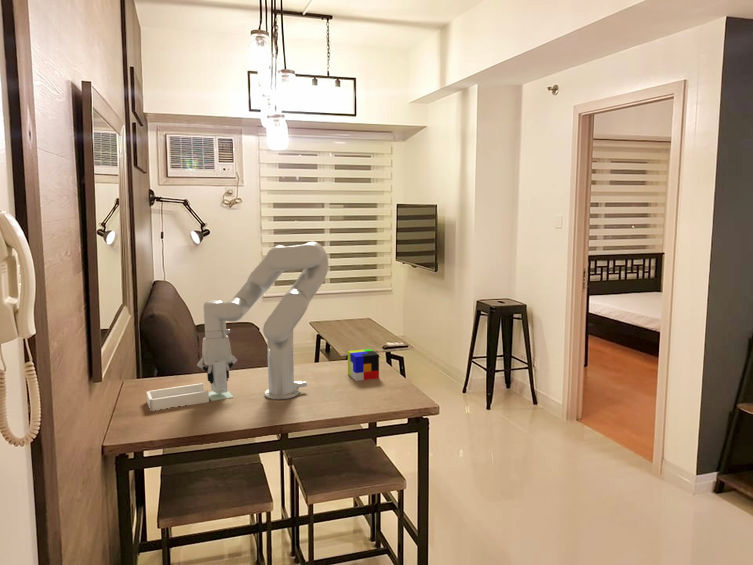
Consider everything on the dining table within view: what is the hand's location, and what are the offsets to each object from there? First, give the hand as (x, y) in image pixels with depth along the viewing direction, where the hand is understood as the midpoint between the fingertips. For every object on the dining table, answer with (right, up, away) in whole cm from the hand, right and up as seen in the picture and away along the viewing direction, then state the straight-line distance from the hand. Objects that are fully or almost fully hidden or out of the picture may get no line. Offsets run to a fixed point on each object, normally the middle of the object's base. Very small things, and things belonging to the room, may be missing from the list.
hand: (218, 381), depth 221 cm
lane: (-13, -7, -6) cm, 16 cm away
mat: (0, -6, +1) cm, 6 cm away
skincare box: (0, -4, +1) cm, 4 cm away
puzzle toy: (+54, -2, +24) cm, 59 cm away
